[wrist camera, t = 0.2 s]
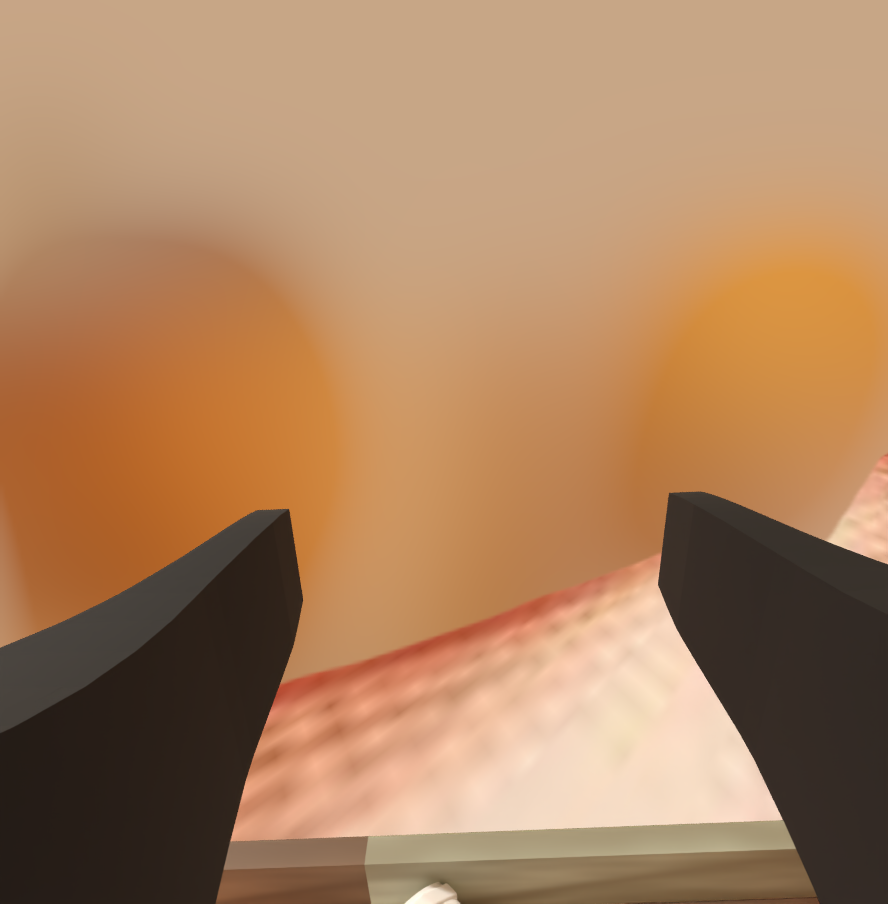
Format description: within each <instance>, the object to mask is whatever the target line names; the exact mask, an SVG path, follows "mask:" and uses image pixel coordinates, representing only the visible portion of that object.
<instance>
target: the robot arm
mask: <svg viewBox="0 0 888 904" xmlns="http://www.w3.org/2000/svg"><path fill="white" fill-rule="evenodd" d="M658 586H659V588H660V591H661V593H662V596H663V598H664V601H665V603H666V606H667V608H668V610H669V613H670V615H671V617H672V619H673V622H674V624H675V626H676V629H677V630H678V632H679V634H680V636H681V637H682V639H683V641H684V642H685V644H686V646H687V647H688V649H689V651H690V652H691V654H692V656H693V658H694V659H695V661H696V663H697V664H698V666H699V667H700V669H701V671H702V672H703V674H704V676H705V677H706V679H707V681H708V682H709V684H710V685H711V687H712V689H713V690H714V692H715V694H716V695H717V697H718V699H719V700H720V702H721V703H722V705H723V707H724V708H725V710H726V712H727V713H728V715H729V717H730V718H731V720H732V722H733V723H734V725H735V726H736V728H737V730H738V731H739V733H740V735H741V737H742V738H743V740H744V742H745V744H746V746H747V747H748V749H749V751H750V753H751V755H752V756H753V758H754V760H755V762H756V764H757V766H758V768H759V771H760V773H761V775H762V777H763V779H764V781H765V783H766V785H767V787H768V789H769V791H770V794H771V796H772V798H773V800H774V802H775V804H776V806H777V808H778V810H779V812H780V814H781V817H782V819H783V821H784V823H785V825H786V828H787V830H788V832H789V834H790V837H791V839H792V841H793V843H794V846H795V848H796V850H797V852H798V854H799V857H800V859H801V861H802V863H803V866H804V868H805V870H806V872H807V875H808V877H809V879H810V881H811V884H812V886H813V888H814V891H815V893H816V895H817V898H818V900H819V903H820V904H888V564H885V563H882V562H879V561H877V560H874V559H871V558H868V557H866V556H863V555H860V554H858V553H855V552H852V551H850V550H847V549H844V548H842V547H839V546H837V545H834V544H831V543H829V542H826V541H824V540H821V539H819V538H816V537H814V536H812V535H809V534H807V533H804V532H802V531H799V530H797V529H795V528H792V527H790V526H788V525H785V524H783V523H781V522H778V521H776V520H774V519H771V518H769V517H766V516H764V515H762V514H759V513H757V512H755V511H753V510H750V509H748V508H746V507H743V506H741V505H738V504H736V503H733V502H730V501H728V500H726V499H723V498H720V497H718V496H715V495H712V494H708V493H705V492H680V493H669V498H668V507H667V514H666V523H665V531H664V539H663V547H662V556H661V564H660V572H659V580H658ZM302 602H303V596H302V590H301V583H300V577H299V570H298V564H297V557H296V551H295V544H294V538H293V532H292V525H291V518H290V512H289V509H278V510H257V511H255V512H253V513H250V514H249V515H247V516H245V517H243V518H242V519H240V520H238V521H237V522H235V523H234V524H232V525H230V526H229V527H227V528H226V529H224V530H223V531H221V532H220V533H218V534H217V535H215V536H214V537H212V538H210V539H209V540H208V541H206V542H204V543H203V544H201V545H200V546H198V547H197V548H195V549H193V550H192V551H190V552H189V553H187V554H186V555H185V556H183V557H181V558H179V559H178V560H176V561H175V562H173V563H171V564H169V565H168V566H166V567H164V568H163V569H161V570H159V571H158V572H156V573H154V574H153V575H151V576H149V577H148V578H146V579H144V580H143V581H141V582H139V583H138V584H136V585H134V586H132V587H131V588H129V589H127V590H125V591H123V592H121V593H120V594H118V595H116V596H114V597H112V598H110V599H108V600H106V601H104V602H102V603H100V604H98V605H96V606H94V607H92V608H90V609H88V610H86V611H84V612H82V613H80V614H78V615H76V616H74V617H72V618H70V619H67V620H65V621H63V622H61V623H59V624H56V625H54V626H52V627H49V628H47V629H44V630H42V631H40V632H37V633H35V634H33V635H30V636H28V637H25V638H23V639H20V640H18V641H16V642H13V643H11V644H8V645H6V646H4V647H1V648H0V904H216V900H217V895H218V891H219V887H220V883H221V878H222V874H223V870H224V865H225V861H226V857H227V853H228V848H229V844H230V840H231V836H232V832H233V828H234V824H235V820H236V816H237V812H238V809H239V805H240V801H241V797H242V793H243V789H244V785H245V781H246V778H247V775H248V772H249V769H250V765H251V762H252V759H253V756H254V753H255V750H256V748H257V745H258V742H259V739H260V737H261V734H262V731H263V729H264V726H265V723H266V720H267V718H268V715H269V712H270V710H271V707H272V704H273V701H274V699H275V696H276V693H277V690H278V688H279V685H280V682H281V679H282V677H283V674H284V671H285V668H286V665H287V663H288V660H289V657H290V654H291V651H292V648H293V645H294V641H295V636H296V632H297V627H298V623H299V618H300V613H301V608H302Z"/></svg>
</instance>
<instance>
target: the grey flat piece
mask: <svg viewBox="0 0 888 904" xmlns="http://www.w3.org/2000/svg"><path fill="white" fill-rule="evenodd" d="M436 882H440V883H441V884H442V885H443V884H445V883H447V884H448V885H449V886H450V887H451V888H452V889H453V890H454V891H455V892H456V893H457V900H458V901H459V902H460V903H461V904H627V903H657V902H687V901H716V900H746V899H776V898H806V897H817V895H816V893H815V891H814V888H813V886H812V884H811V881H810V879H809V877H808V875H807V872H806V870H805V868H804V866H803V863H802V861H801V859H800V857H799V854H798V852H797V850H796V848H795V846H794V843H793V841H792V839H791V837H790V834H789V832H788V830H787V828H786V825H785V823H784V821H783V820H780V821H754V822H728V823H702V824H676V825H650V826H624V827H598V828H572V829H546V830H520V831H495V832H469V833H443V834H417V835H391V836H365V837H339V838H313V839H287V840H261V841H235V842H230V844H229V848H228V853H227V857H226V861H225V865H224V870H223V874H222V878H221V883H220V887H219V891H218V895H217V900H216V904H405V903H406V902H407V901H408V900H409V899H410V898H411V897H413V896H414V895H415V894H416V893H418V892H419V891H421V890H422V889H424V888H425V887H427V886H429V885H431V884H433V883H436Z"/></svg>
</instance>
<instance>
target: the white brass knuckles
mask: <svg viewBox="0 0 888 904" xmlns="http://www.w3.org/2000/svg"><path fill="white" fill-rule="evenodd" d="M405 904H461V903H460V902H459V901H458V900H457V893H456V892H455V891H454V890H453V889H452V888H451V887H450V886H449V885H448V884H447V883H445V884H443V885H442V884H441V883H440V882H436V883H433V884H431V885H429V886H427V887H425V888H424V889H422V890H421V891H419V892H418V893H416V894H415V895H414V896H413V897H411V898H410V899H409V900H408V901H407V902H406V903H405Z"/></svg>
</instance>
